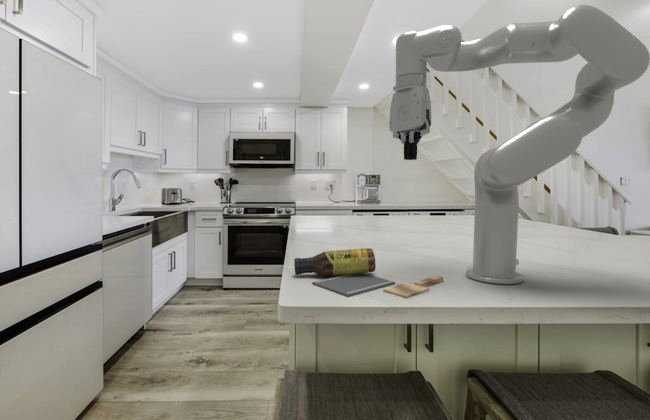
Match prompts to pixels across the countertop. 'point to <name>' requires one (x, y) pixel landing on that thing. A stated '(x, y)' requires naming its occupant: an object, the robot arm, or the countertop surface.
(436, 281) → the turner
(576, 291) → the countertop surface
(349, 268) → the sauce bottle
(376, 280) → the mat
